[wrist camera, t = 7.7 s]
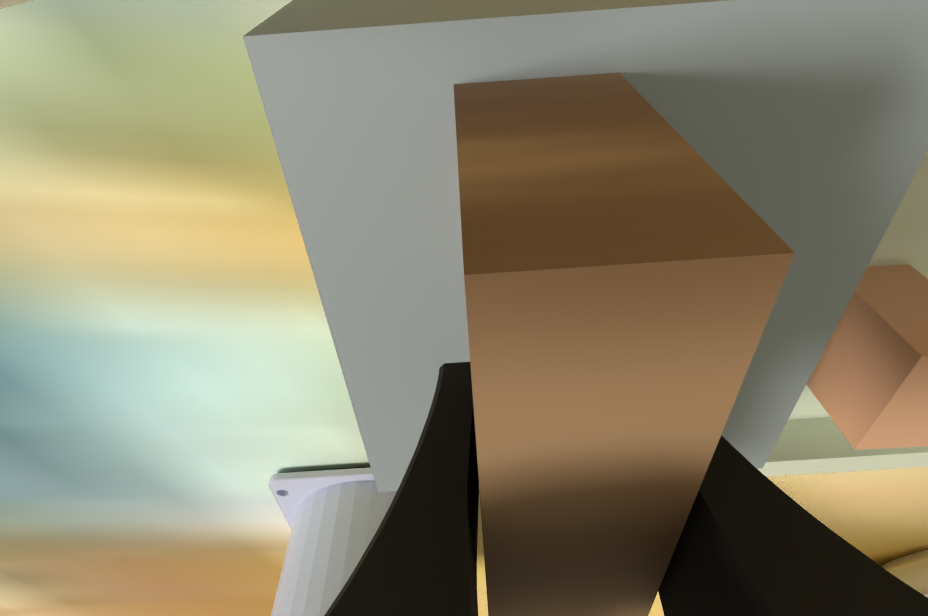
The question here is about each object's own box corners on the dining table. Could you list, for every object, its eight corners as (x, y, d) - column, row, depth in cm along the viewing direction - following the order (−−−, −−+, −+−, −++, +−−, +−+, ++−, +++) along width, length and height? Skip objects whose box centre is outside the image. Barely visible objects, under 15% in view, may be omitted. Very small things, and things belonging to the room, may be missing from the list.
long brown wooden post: (571, 463, 17) (620, 681, 12) (479, 469, 17) (494, 689, 12) (618, 72, 9) (795, 252, 5) (453, 84, 9) (464, 275, 5)
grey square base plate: (714, 380, 21) (762, 468, 17) (387, 402, 21) (377, 492, 18) (864, -44, 12) (1016, -20, 9) (295, -2, 12) (243, 36, 9)
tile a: (787, 358, 19) (854, 355, 19) (854, 450, 16) (936, 445, 16) (831, 268, 16) (909, 264, 16) (922, 356, 13) (1018, 351, 13)
